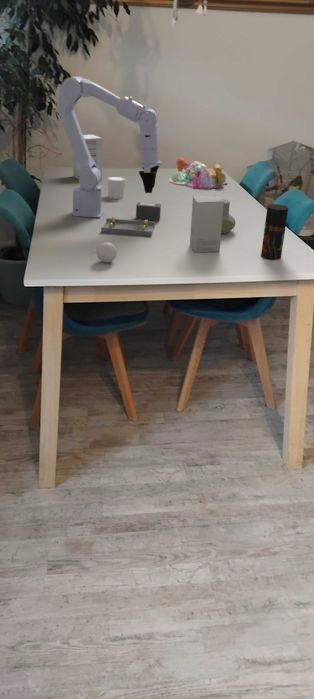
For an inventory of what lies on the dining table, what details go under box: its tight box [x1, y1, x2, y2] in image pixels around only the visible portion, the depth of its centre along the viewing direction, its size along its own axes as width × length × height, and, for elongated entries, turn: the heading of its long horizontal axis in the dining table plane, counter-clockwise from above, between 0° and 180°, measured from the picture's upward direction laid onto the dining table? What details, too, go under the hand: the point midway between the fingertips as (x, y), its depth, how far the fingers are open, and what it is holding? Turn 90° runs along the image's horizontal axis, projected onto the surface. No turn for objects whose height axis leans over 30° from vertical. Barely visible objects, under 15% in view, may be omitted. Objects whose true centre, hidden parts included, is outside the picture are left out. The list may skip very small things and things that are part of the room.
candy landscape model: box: [168, 157, 228, 190], centre depth 271 cm, size 25×24×9 cm
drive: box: [135, 202, 162, 222], centre depth 220 cm, size 8×4×5 cm, turn 85°
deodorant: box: [260, 203, 289, 261], centre depth 189 cm, size 6×6×15 cm
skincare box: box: [189, 195, 224, 253], centre depth 191 cm, size 8×7×16 cm
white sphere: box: [92, 241, 118, 264], centre depth 179 cm, size 8×6×6 cm
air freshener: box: [221, 198, 236, 235], centre depth 210 cm, size 11×8×10 cm
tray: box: [100, 216, 156, 237], centre depth 208 cm, size 16×11×3 cm
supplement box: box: [72, 134, 103, 181], centre depth 266 cm, size 10×9×17 cm
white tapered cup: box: [106, 176, 126, 200], centre depth 243 cm, size 7×7×7 cm
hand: (149, 190), depth 216 cm, fingers open, 7 cm apart
